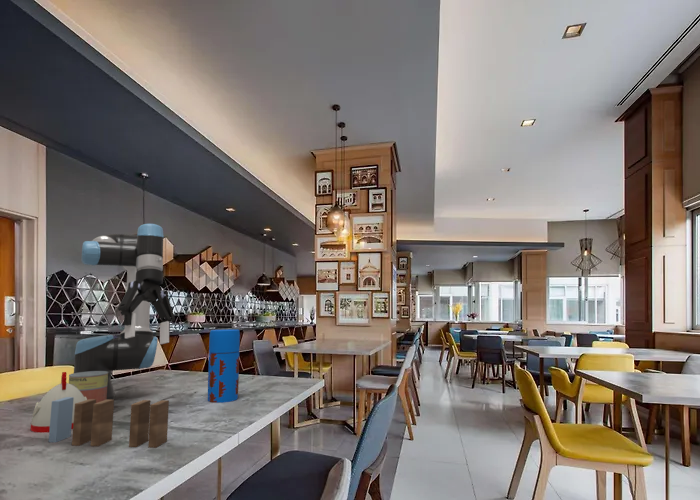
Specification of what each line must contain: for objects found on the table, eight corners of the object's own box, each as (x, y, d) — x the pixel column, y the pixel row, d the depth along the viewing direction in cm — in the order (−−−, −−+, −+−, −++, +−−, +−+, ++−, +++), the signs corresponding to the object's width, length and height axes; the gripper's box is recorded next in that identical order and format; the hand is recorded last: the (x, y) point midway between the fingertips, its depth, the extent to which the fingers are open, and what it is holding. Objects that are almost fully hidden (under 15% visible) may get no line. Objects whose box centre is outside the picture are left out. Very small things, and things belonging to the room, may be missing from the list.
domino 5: (148, 447, 102) (150, 404, 103) (159, 441, 107) (161, 400, 108) (156, 447, 101) (158, 405, 103) (166, 441, 106) (168, 400, 108)
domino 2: (71, 445, 104) (74, 403, 105) (86, 439, 109) (89, 399, 110) (79, 445, 103) (82, 403, 105) (93, 439, 108) (96, 399, 110)
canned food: (58, 412, 136) (61, 374, 138) (93, 405, 146) (95, 370, 148) (78, 416, 131) (81, 377, 133) (113, 408, 141) (115, 372, 143)
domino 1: (48, 442, 106) (51, 401, 108) (63, 436, 111) (66, 397, 113) (55, 442, 106) (59, 401, 108) (70, 436, 111) (73, 397, 112)
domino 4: (128, 447, 102) (131, 404, 103) (140, 440, 107) (143, 400, 108) (136, 447, 102) (138, 404, 103) (148, 440, 107) (150, 400, 108)
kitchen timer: (86, 416, 131) (89, 367, 133) (90, 426, 120) (94, 372, 122) (30, 424, 123) (35, 372, 125) (30, 436, 112) (35, 378, 114)
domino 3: (90, 446, 103) (93, 403, 104) (104, 439, 108) (107, 399, 109) (98, 446, 103) (101, 404, 104) (111, 439, 108) (114, 399, 109)
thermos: (226, 395, 161) (228, 329, 165) (244, 398, 155) (245, 329, 158) (201, 400, 153) (204, 330, 156) (218, 404, 146) (220, 331, 150)
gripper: (128, 256, 116) (124, 331, 108) (186, 279, 139) (187, 343, 131) (106, 263, 118) (101, 337, 110) (167, 284, 141) (166, 347, 133)
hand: (147, 340), depth 121 cm, fingers open, 13 cm apart
